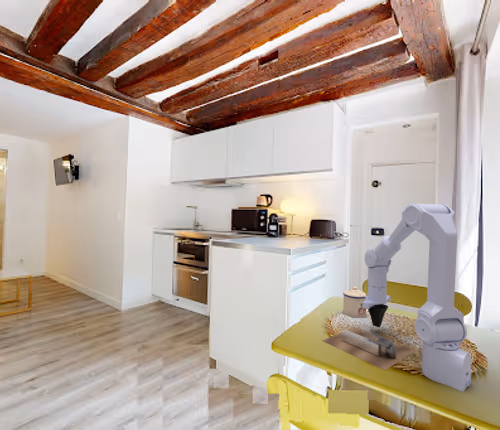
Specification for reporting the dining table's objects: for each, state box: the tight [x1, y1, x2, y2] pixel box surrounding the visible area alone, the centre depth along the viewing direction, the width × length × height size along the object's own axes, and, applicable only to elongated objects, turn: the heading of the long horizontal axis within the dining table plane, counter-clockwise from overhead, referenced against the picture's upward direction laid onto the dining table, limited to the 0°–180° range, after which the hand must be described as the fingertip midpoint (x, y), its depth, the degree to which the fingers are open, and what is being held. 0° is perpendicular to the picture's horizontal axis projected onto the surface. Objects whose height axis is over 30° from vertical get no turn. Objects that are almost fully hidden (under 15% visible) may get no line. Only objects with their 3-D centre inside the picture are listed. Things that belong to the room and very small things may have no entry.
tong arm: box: [361, 324, 396, 359], centre depth 81 cm, size 15×3×3 cm, turn 6°
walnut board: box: [321, 327, 417, 371], centre depth 82 cm, size 20×18×1 cm
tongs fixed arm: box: [340, 328, 394, 356], centre depth 80 cm, size 14×3×4 cm, turn 36°
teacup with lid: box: [342, 285, 368, 319], centre depth 111 cm, size 12×9×12 cm
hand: (376, 326), depth 91 cm, fingers closed
